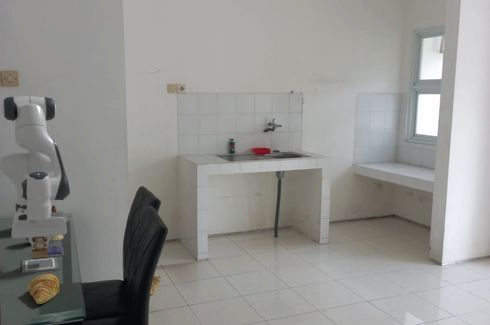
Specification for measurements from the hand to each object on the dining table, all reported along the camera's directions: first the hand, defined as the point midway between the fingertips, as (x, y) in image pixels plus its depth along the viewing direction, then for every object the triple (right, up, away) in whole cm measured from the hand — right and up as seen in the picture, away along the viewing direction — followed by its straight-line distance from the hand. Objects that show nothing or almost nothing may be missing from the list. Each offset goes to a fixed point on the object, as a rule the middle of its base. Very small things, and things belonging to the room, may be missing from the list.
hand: (39, 246), depth 187 cm
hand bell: (-8, -3, +35) cm, 36 cm away
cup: (-15, -4, +26) cm, 30 cm away
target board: (0, -8, +1) cm, 8 cm away
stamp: (0, -4, 0) cm, 4 cm away
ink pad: (-2, -6, +16) cm, 17 cm away
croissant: (+11, -13, -23) cm, 28 cm away
